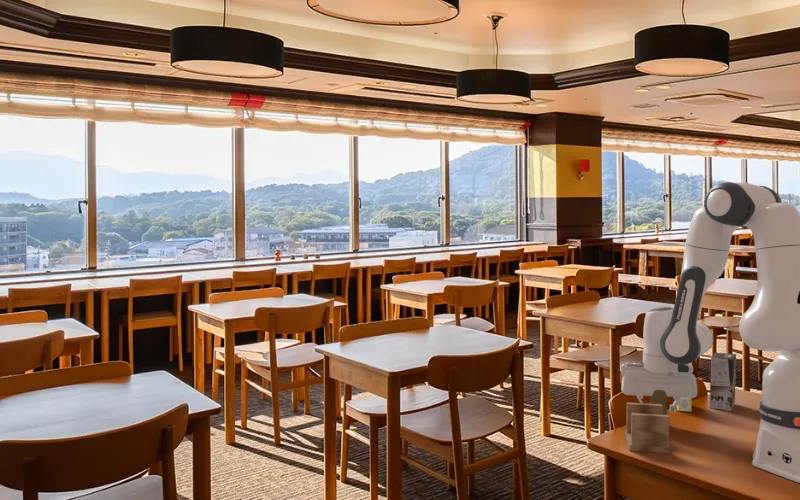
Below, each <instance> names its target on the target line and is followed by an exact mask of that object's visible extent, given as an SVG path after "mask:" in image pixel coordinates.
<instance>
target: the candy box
mask: <svg viewBox="0 0 800 500" xmlns="http://www.w3.org/2000/svg"><path fill="white" fill-rule="evenodd" d="M690 364H691V365H692V366H693V362H691V363H690ZM692 401H693V398H684V397H680V402H679V404H678V405H677V407H676V411H678V412H689V413H691V412H692V408H693V407H692Z"/></svg>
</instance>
